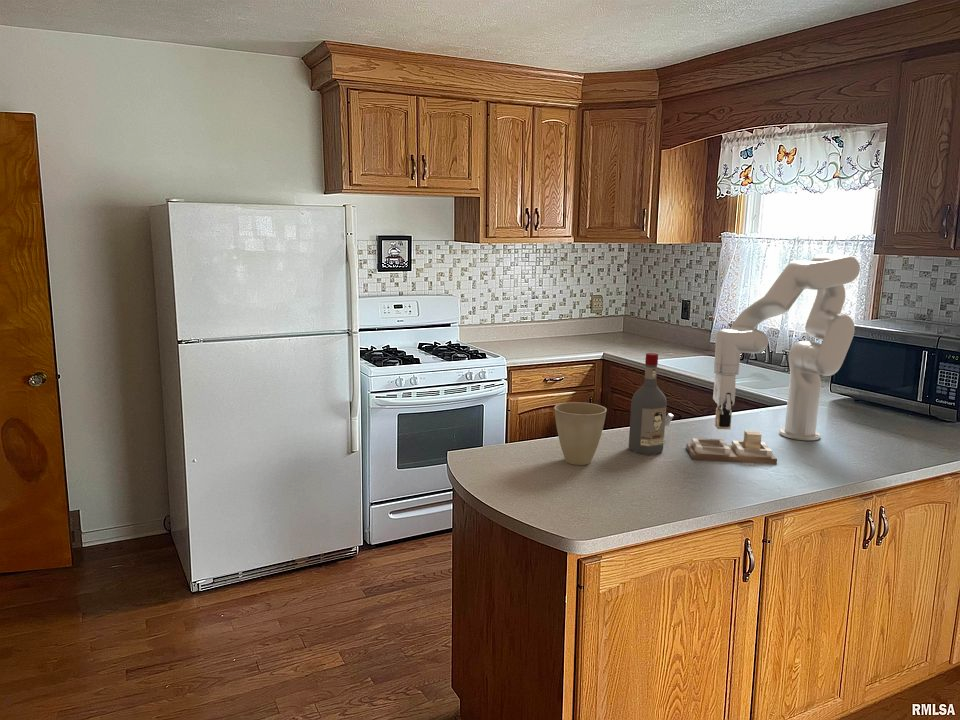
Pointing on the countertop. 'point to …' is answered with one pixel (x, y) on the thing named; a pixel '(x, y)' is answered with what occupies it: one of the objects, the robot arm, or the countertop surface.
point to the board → (732, 449)
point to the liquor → (648, 413)
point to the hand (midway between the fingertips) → (723, 424)
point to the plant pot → (579, 430)
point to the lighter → (668, 420)
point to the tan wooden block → (718, 411)
